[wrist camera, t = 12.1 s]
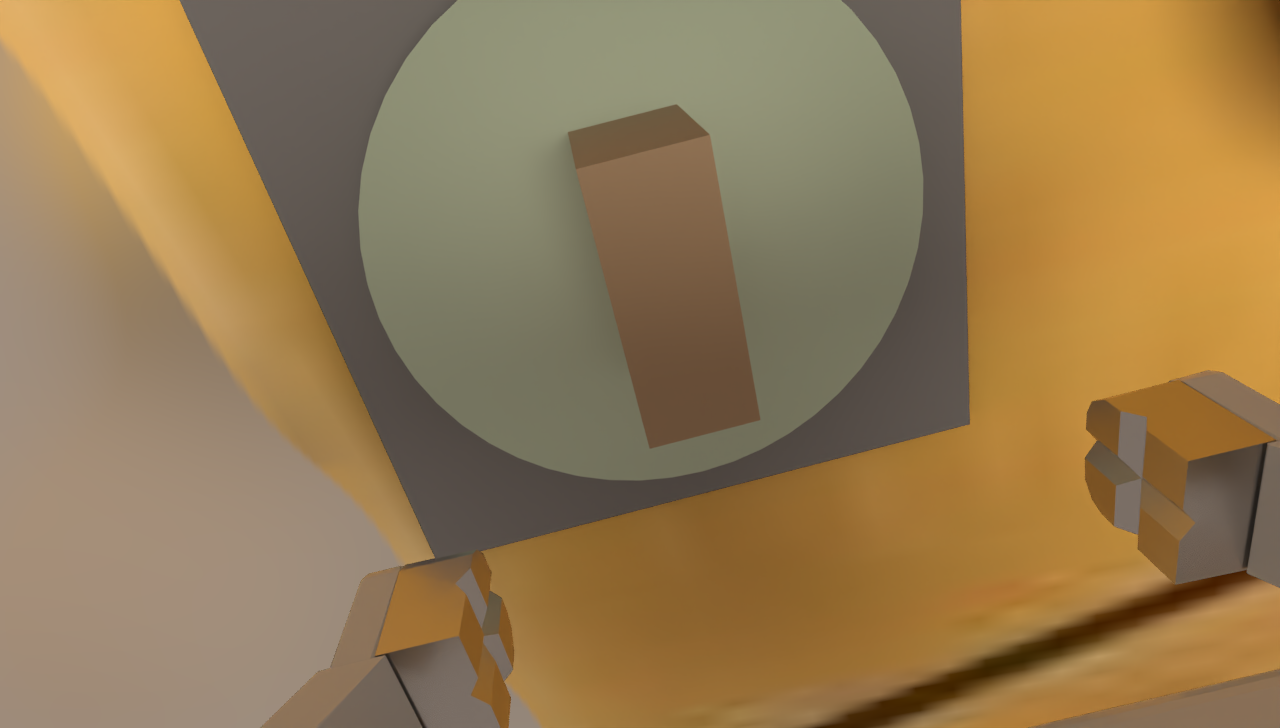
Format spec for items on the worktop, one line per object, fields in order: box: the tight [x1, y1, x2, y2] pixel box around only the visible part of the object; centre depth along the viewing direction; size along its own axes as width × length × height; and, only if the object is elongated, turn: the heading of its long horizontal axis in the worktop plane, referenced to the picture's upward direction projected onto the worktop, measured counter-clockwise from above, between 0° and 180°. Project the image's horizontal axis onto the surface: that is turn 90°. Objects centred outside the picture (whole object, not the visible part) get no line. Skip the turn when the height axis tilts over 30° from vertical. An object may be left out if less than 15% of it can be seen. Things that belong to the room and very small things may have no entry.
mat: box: [180, 0, 970, 558], centre depth 19 cm, size 16×16×1 cm
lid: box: [358, 0, 923, 481], centre depth 17 cm, size 13×13×4 cm
